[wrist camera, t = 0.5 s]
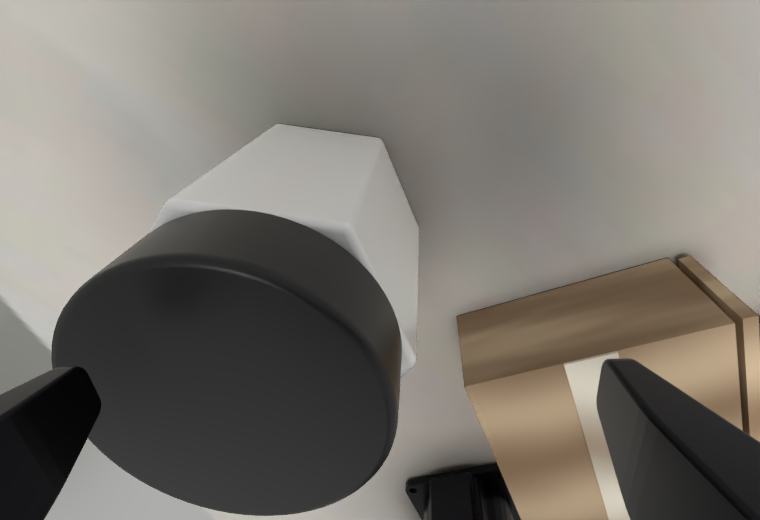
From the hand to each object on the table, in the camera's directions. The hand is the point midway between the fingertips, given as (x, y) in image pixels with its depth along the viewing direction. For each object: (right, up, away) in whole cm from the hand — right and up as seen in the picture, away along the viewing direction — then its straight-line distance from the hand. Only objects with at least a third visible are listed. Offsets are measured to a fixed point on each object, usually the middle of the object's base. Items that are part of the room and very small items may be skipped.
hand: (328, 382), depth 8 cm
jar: (-2, +4, +13) cm, 14 cm away
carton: (+12, -4, +16) cm, 20 cm away
